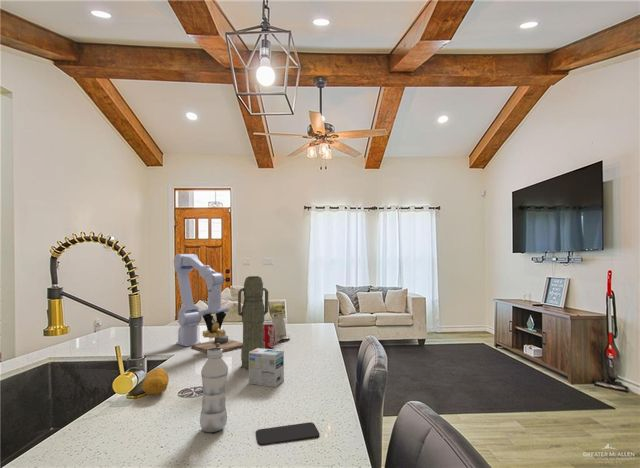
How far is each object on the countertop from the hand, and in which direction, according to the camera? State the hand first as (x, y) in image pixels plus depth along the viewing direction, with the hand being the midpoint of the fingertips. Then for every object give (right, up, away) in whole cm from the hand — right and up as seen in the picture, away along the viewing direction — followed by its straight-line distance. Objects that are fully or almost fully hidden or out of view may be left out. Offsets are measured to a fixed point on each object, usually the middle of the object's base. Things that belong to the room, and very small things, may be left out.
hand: (214, 329), depth 167 cm
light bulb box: (+30, -8, -41) cm, 51 cm away
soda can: (+24, -10, +2) cm, 26 cm away
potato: (-4, -7, -50) cm, 51 cm away
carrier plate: (+1, -10, +6) cm, 11 cm away
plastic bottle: (+21, -6, -74) cm, 77 cm away
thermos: (+22, -9, -22) cm, 32 cm away
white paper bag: (+27, -11, +21) cm, 35 cm away
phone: (+40, -6, -76) cm, 87 cm away
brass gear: (0, -3, 0) cm, 3 cm away
